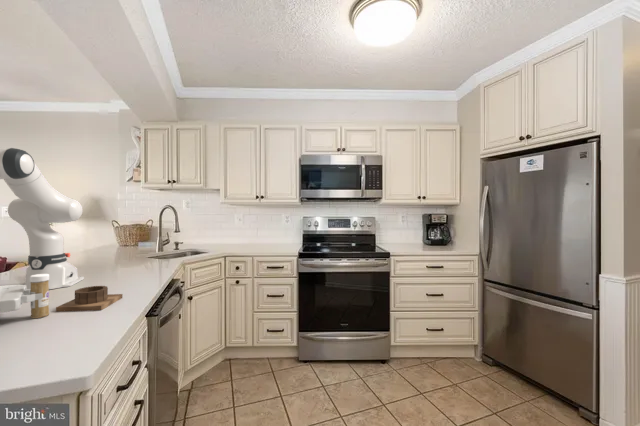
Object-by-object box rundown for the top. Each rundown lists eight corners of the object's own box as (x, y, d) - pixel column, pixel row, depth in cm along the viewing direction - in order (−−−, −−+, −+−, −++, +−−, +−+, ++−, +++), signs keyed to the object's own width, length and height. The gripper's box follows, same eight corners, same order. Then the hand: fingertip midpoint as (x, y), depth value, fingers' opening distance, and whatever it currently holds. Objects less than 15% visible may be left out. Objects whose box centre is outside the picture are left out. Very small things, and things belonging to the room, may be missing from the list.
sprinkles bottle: (47, 317, 96) (47, 275, 96) (28, 319, 94) (28, 277, 93) (50, 312, 100) (50, 272, 100) (32, 315, 97) (31, 274, 97)
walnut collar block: (83, 298, 115) (82, 284, 115) (122, 297, 117) (122, 283, 117) (56, 311, 101) (55, 295, 101) (101, 310, 103) (101, 294, 103)
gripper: (-30, 300, 80) (41, 291, 89) (-14, 284, 96) (45, 277, 105) (-29, 323, 80) (41, 312, 89) (-14, 303, 96) (45, 295, 105)
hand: (43, 293), depth 97 cm, fingers closed on sprinkles bottle, 4 cm apart
